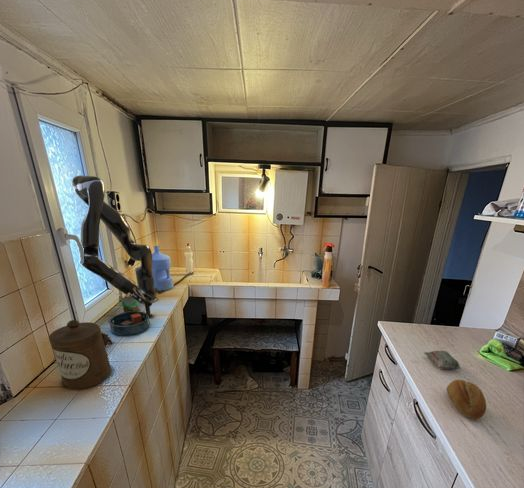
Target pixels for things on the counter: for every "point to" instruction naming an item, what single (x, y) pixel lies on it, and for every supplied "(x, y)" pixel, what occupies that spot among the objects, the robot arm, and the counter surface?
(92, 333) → the wooden container
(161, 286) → the water jug
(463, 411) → the bread roll
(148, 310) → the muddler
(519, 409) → the counter surface
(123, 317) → the bowl
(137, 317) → the block
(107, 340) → the pottery mug
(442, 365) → the packaged food
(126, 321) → the block
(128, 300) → the food container
